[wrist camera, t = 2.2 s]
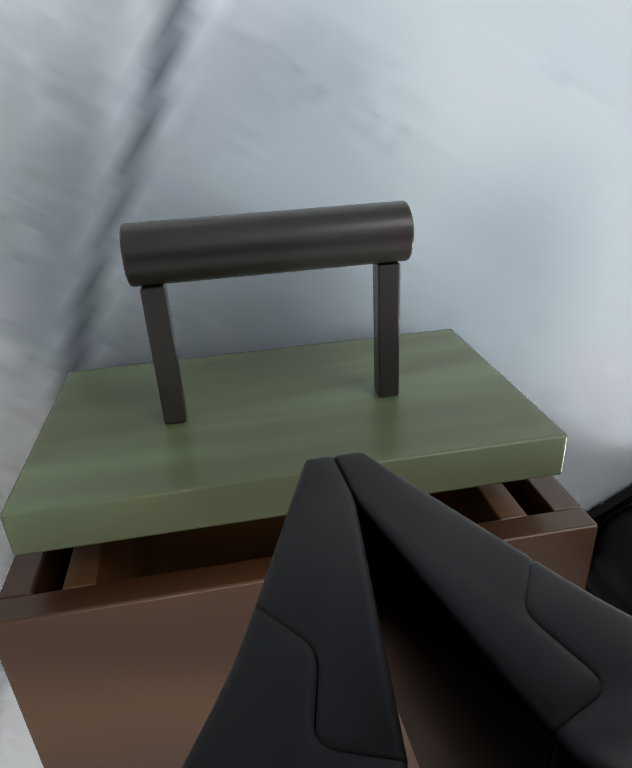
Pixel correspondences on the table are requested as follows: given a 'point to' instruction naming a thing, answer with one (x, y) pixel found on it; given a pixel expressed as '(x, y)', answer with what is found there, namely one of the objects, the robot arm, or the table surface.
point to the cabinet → (182, 640)
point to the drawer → (264, 410)
